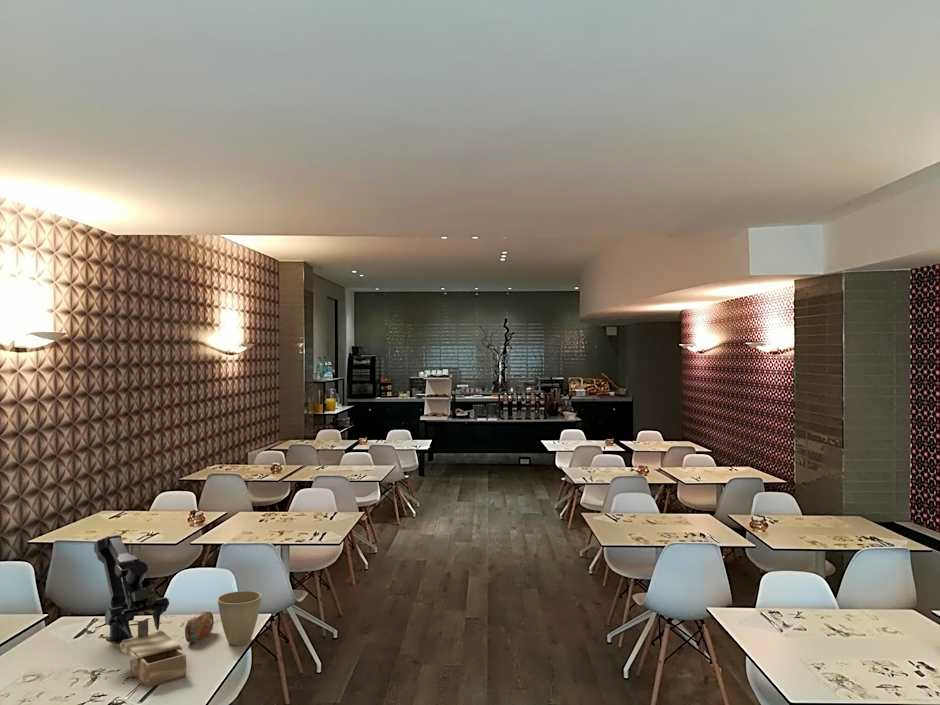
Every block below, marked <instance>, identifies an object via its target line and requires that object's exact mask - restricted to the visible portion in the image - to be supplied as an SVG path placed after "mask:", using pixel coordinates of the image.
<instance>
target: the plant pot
mask: <svg viewBox="0 0 940 705" xmlns="http://www.w3.org/2000/svg"><path fill="white" fill-rule="evenodd" d="M261 600H262V593H260V592H257V591H253V590H252V591H251V590H241V591H240V590H238V591H231V592H227V593H224V594H222V595H220V596H219V597H217V606H218V611H219V616H220V622H221V626H222V628H223V633H224V636H225V638H226V641H227V644H228V645H230V644H231V645H230V646H233V645H239V646H243V645H242V644H244V645H247V644H249V643H250V641H251V639H252V636H253V634H254V632H255V628H256V625H257V620H258V618H259V613H260V609H261V602H262V601H261ZM246 643H247V644H246Z"/></svg>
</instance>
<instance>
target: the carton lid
mask: <svg viewBox="0 0 940 705" xmlns="http://www.w3.org/2000/svg"><path fill="white" fill-rule="evenodd" d="M176 648H178V649H180V650H181V651H182V652H183V648H182V646H181V645H180V643H178V642H177V641H175V640H174V639H173V638H172V637H171V636H169V635H168V634H166V633H165V632H164V630H159V631H156V632H152V633H149V620H148V619H145V620H139V621H137V636H135V637H134V636H133V637H132V638H129V639H126V640H122V641H121V642H119V650H120V651H121V652H122V653H123V654H124V655H125V656H126V657H127V658H128V659H131V660H132V661H133V662H134V663H135V664H136V665H138V658H141V657H145V656H149V655H153V654H156V653H160V652H164V651H168V650H172V649H176Z"/></svg>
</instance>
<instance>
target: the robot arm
mask: <svg viewBox="0 0 940 705" xmlns="http://www.w3.org/2000/svg"><path fill="white" fill-rule="evenodd" d="M122 539H123V538H122V536H121V534H112V535H107V536H105V537H104V538H102V539H98V540H97V541H96V542H95V543H94V544H93V550H94V551H93V552H94V553H95V554H96V557H97V560H98V561H100V562H101V563H102V564H103V566H104V571H105V576H106V580H107V585H108V590H109V595H110V602H109V604H108V606H107V610H106V612H105V615H104V622H105V624H106V625H107V626H109V637H106V639H105V640H106V641H108V642H111V643H112V642H113V643H116V644H118V643H122V640H126V639H130V638H134V636H133V635H132V631H131V627H130V622H131V621H132V622H133V621H134V619H135V614H140V613H145V612H149V611H152V612H153V614H152V618H153V622H154V627H155V630H156V631H160V630H159V629H160V622H161V616H162V614H163V613H165V612H166V611H167V609H168V607H169V606H170V601H169V598H168V597H166V596H165V597H160V598H156V599H155V600H154V602H153V603H151V604H149V602H150V599H151V597H153V596H155V595H156V587H155V584H154V585H153V584H152V585H149V586H147V587H146V588H143V585H142V582H144V579H145V577H146V574H147V572H148V565H147V564H146V562H144V561H140V558H137V557H136V555H132V554H130V553H129V551H128V549H127V548H126V546H125V544H124V542H123V540H122ZM122 578H124V579H123V580H122Z"/></svg>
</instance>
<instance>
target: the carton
mask: <svg viewBox="0 0 940 705" xmlns="http://www.w3.org/2000/svg"><path fill="white" fill-rule="evenodd" d="M129 666H130V667H129V669H130V670H129V672H130V673H131V674H132V675H133V676H134V677H135V679H137V681H139V682H140V683H141V684H142V686H144V687H145V688H146V689H149V688H152V687H156V686H159V685H162V684H166V683H167V684H168V683H170V682H173V681H177V680H180V679H183V678H187V654H186V653H184V652H183V650H182V651H181V650H180V649H178V648H176V649H172V650H168V651H164V652H160V653H156V654H153V655H149V656H145V657H141V658H138V665H136V664H135V663H134V662H133V661H132V660H131V659H130V660H129Z"/></svg>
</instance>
